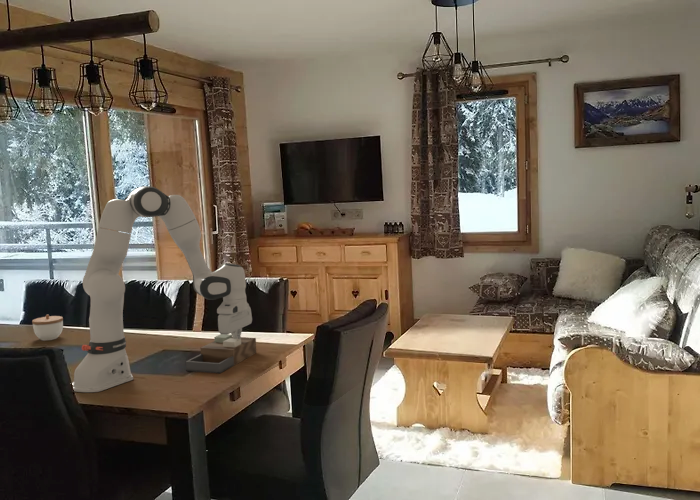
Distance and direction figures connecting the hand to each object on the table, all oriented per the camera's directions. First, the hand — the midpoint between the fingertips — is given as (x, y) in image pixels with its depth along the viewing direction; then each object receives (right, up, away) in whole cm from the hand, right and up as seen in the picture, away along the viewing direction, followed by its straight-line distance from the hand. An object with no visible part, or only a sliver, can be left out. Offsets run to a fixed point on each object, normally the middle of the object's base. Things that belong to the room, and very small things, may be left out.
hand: (236, 340), depth 244 cm
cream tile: (-1, -1, -4) cm, 4 cm away
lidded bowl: (-93, -6, +43) cm, 103 cm away
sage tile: (-6, -1, +4) cm, 7 cm away
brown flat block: (-3, -7, +1) cm, 8 cm away
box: (-8, -9, -12) cm, 16 cm away
